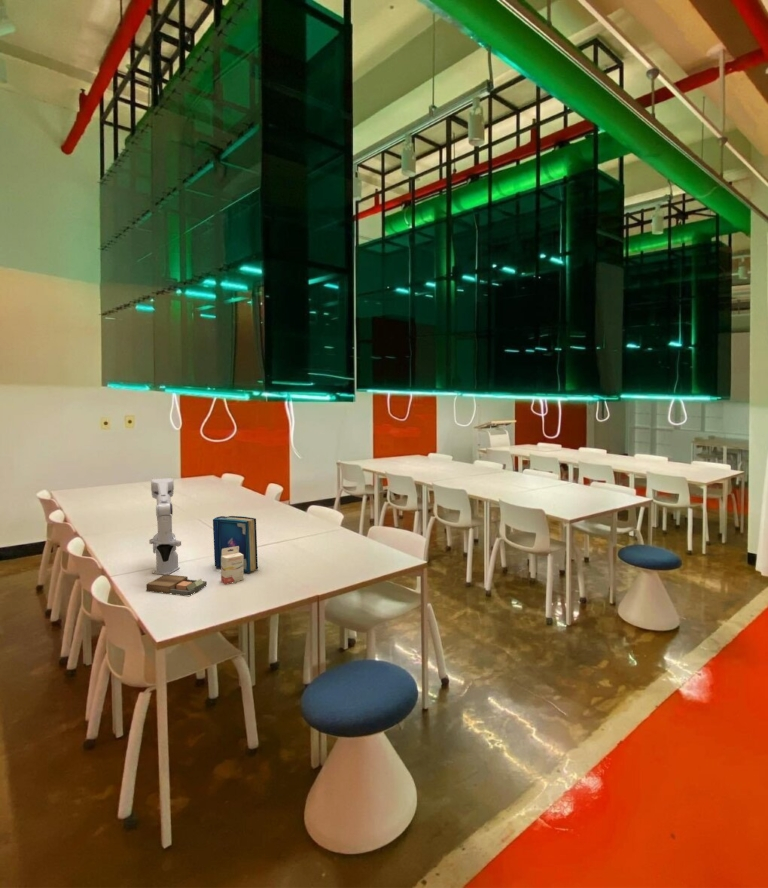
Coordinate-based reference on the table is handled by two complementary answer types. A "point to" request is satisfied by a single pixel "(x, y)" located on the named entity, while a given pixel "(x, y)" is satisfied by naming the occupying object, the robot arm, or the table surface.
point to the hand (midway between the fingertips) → (165, 561)
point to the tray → (183, 592)
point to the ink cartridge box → (232, 565)
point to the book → (236, 539)
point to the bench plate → (165, 583)
